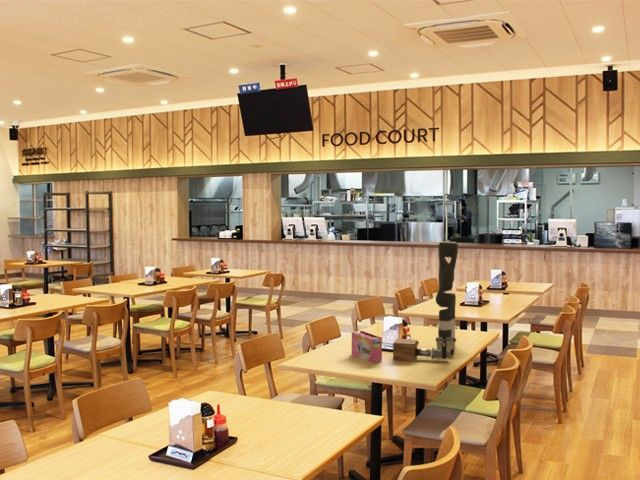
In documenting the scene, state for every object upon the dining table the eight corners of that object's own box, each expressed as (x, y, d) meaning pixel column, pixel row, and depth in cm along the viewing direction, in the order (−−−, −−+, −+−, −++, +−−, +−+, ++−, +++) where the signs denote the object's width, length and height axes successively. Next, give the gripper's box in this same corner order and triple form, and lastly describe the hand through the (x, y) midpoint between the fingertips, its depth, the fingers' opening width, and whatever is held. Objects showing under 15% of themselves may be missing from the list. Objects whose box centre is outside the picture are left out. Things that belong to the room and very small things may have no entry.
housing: (396, 355, 389) (396, 338, 388) (417, 356, 385) (417, 339, 385) (393, 360, 377) (393, 342, 377) (414, 361, 374) (414, 344, 373)
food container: (455, 352, 395) (455, 336, 394) (456, 355, 389) (456, 338, 388) (434, 352, 396) (434, 335, 396) (435, 354, 390) (435, 338, 390)
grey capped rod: (417, 356, 382) (417, 345, 382) (450, 358, 377) (450, 347, 377) (415, 358, 377) (415, 348, 376) (449, 360, 371) (449, 350, 371)
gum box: (349, 354, 393) (349, 331, 392) (361, 352, 396) (361, 330, 396) (370, 363, 372) (370, 339, 371) (382, 361, 375) (382, 337, 374)
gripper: (439, 325, 382) (439, 355, 383) (436, 330, 368) (436, 360, 369) (452, 326, 379) (452, 355, 380) (450, 330, 366) (450, 361, 367)
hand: (444, 358), depth 375 cm, fingers closed on grey capped rod, 3 cm apart
